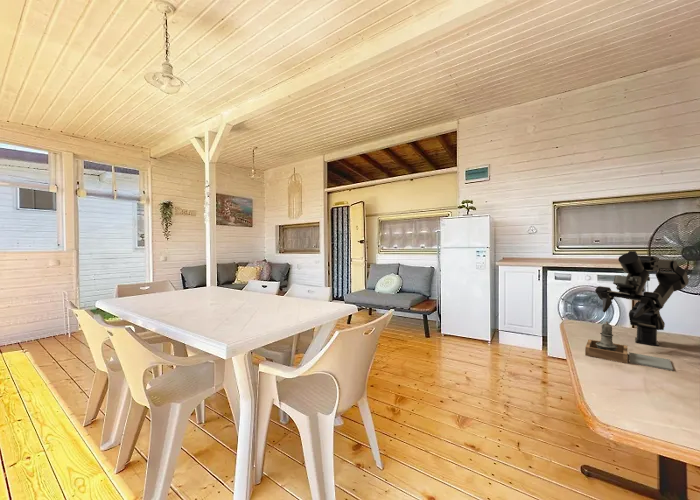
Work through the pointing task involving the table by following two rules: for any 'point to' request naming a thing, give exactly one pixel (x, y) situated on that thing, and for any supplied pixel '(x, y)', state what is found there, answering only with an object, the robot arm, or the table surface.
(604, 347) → the grey tall flared piece
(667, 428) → the table surface
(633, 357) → the grey rubber mat
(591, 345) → the walnut holder
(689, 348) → the table surface
